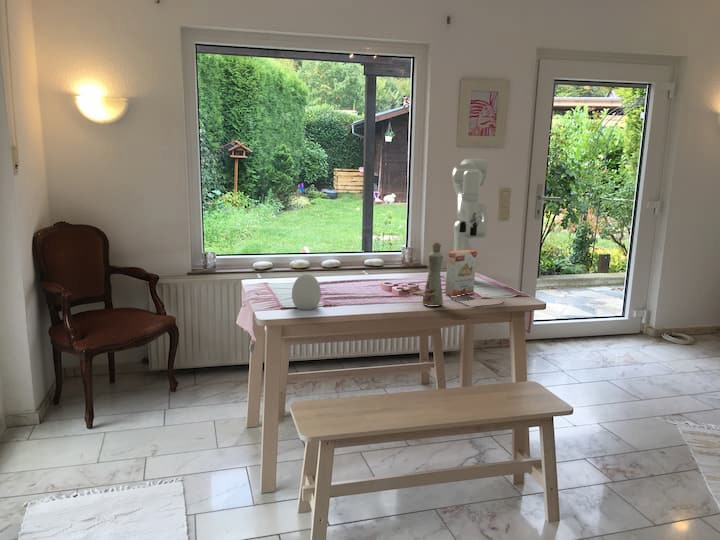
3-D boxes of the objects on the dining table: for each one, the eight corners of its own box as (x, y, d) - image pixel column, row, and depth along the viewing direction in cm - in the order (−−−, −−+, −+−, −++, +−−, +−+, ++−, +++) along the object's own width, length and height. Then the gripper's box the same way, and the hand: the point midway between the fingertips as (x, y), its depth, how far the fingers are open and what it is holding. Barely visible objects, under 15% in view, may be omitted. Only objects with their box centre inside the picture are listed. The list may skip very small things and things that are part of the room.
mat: (450, 298, 275) (450, 297, 274) (481, 295, 283) (481, 293, 283) (472, 307, 261) (472, 305, 261) (503, 303, 269) (504, 302, 269)
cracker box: (453, 297, 277) (456, 253, 272) (444, 295, 281) (447, 251, 277) (474, 294, 285) (477, 251, 280) (465, 291, 290) (468, 249, 285)
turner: (399, 290, 287) (399, 288, 286) (405, 289, 290) (405, 286, 290) (426, 297, 276) (426, 295, 276) (432, 295, 280) (432, 293, 280)
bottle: (442, 308, 258) (446, 244, 252) (421, 306, 260) (424, 243, 254) (443, 303, 266) (447, 241, 260) (423, 301, 268) (426, 240, 262)
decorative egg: (321, 303, 259) (321, 270, 256) (320, 311, 248) (321, 276, 244) (292, 303, 259) (293, 269, 256) (290, 311, 247) (291, 275, 244)
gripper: (454, 195, 284) (451, 231, 287) (472, 199, 268) (470, 237, 272) (467, 195, 286) (465, 230, 290) (487, 199, 270) (484, 236, 274)
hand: (467, 233), depth 281 cm, fingers open, 9 cm apart
